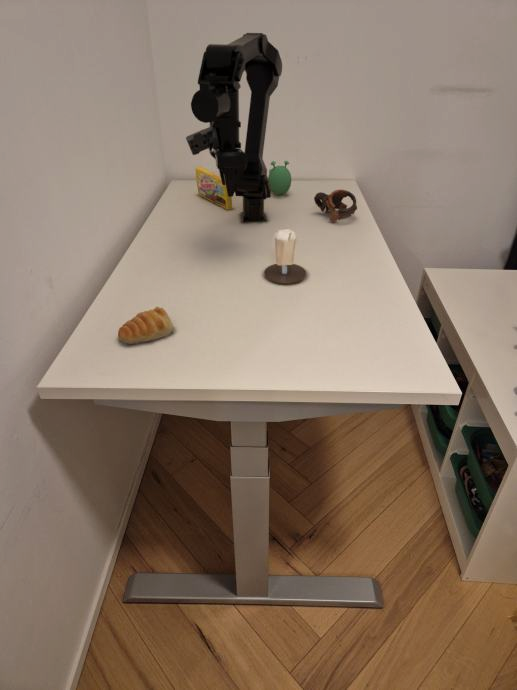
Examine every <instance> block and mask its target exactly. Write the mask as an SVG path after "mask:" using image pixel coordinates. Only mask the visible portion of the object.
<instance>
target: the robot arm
mask: <svg viewBox="0 0 517 690" xmlns="http://www.w3.org/2000/svg"><path fill="white" fill-rule="evenodd" d="M244 72H245V74H246V77H245V78H246V79H245V80H246V82H247V84H248V87H249V90H250V101H249V108H248V109H249V110H248V119H247V129H246V135H245V144H244V151H243V149H242V143H241V142H240V128H241V127H242V122H241V120H240V91H239V90H240V89H241V83H240V82H241V81H242V78H243V74H244ZM282 72H283V62H282V58H281V54H280V52H279V50H278V48H277V47H275V46H274V45H273V44H272V43H270V41H269V39H268V36H267V34H265V33H263V32H246V33H243V34H242V36H240V37H239V38H237V39H235V40H234V41H231V42H229V43H227V44H223V43H219V44H218V43H210V44H207V46H206V48H205V51H204V52H203V55H202V60H201V65H200V68H199V74H198V79H197V85H198V86H199V89H198V90H197V91H195V93H194V94H193V96H192V98H191V101H190V108H191V111H192V114H193V116H194V117H195V118H196V119H197V121H199V122H201V123H204V124H208V123H209V126H207V127H206V128H203V129H201V130H198V131H196V132H194V133H191V134H189V135H187V136H186V137H185V140H186V142H187V145H188V146H189V150H190V152H191V154H192V155H193V156H196V155H199V154H200V153H201V152H203V151H205V150H208V151H209V152H208V153H209V154H210V156H211V157H212V158H213V159H214V161H215V166H216V169H217V170H218V172H219V175H220V177H221V181H222V185H226V189H227V194H228V197H232V198H233V197H234V195H235V197H241V198H242V211H241V212H240V217H241V220H242V223H259V222H267V221H268V219H267V216H266V214H265V200H267V199H270V198H271V197H272V191H271V184H270V181H269V179H268V177H269V176H268V168H267V166H266V164H265V161H264V159H263V158H264V157H263V156H264V149H265V148H264V147H265V140H266V132H267V122H268V115H269V107H270V99H271V96H272V95H273V93H275V90H276V89H277V88H278V86H279V80H280V77H281V76H282Z"/></svg>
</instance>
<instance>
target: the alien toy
mask: <svg viewBox="0 0 517 690" xmlns="http://www.w3.org/2000/svg"><path fill="white" fill-rule="evenodd" d="M283 163H284V165H276V161H274V160H273V161H271V162H270V165H271V166H273V167H272V168H270V169H269V170H268V176H267V177H268V179H269V181H270V184H271V193H273V194H274V195H275V196H283V195H286V194H287V192H288V191H289V190H290V188H291V186H292V175H291V172H290V170H289V169H288V168H287V165H289V164H290V162H289V161H288V160H285V161H283Z"/></svg>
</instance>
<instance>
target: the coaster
mask: <svg viewBox="0 0 517 690" xmlns="http://www.w3.org/2000/svg"><path fill="white" fill-rule="evenodd" d="M263 275H264V278H265V279H266V280H267V281H269V282H270V283H272V284H276V285H282V286H290V285H295V284H299V283H301V282H303V281H304V280H305V279H306V278H307V271H306V269H305V268H304V267H302V266H301V265H298V264H296V263H293V267H292V271H291V273H289V274H281V273H278V271H277V264H276V263H274V264H271V265H269V266H267V267H265V270H264V274H263Z"/></svg>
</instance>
